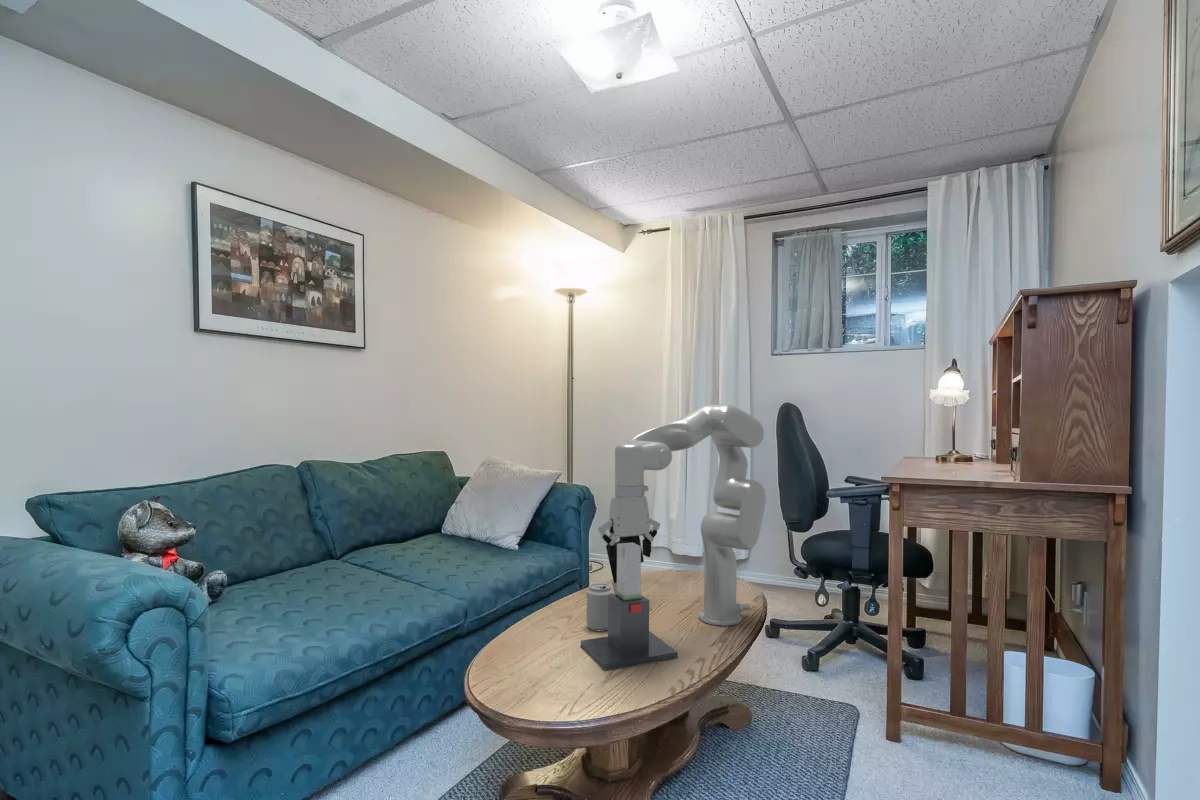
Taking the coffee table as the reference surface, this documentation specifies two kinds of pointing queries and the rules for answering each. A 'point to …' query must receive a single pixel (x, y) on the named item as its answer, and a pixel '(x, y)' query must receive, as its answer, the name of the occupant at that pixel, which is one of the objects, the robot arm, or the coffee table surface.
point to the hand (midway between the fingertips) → (629, 557)
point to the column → (628, 572)
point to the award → (614, 563)
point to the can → (598, 606)
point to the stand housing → (627, 637)
